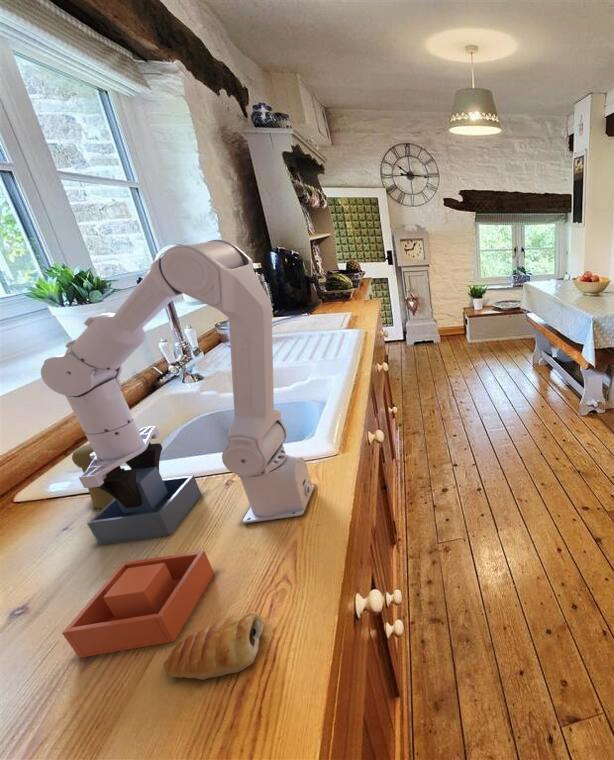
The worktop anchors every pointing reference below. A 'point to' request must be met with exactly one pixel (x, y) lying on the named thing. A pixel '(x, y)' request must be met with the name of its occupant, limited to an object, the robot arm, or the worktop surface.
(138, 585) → the terracotta block
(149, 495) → the slate block
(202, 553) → the terracotta bin
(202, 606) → the worktop surface
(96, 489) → the cork
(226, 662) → the pastry
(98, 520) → the slate bin
